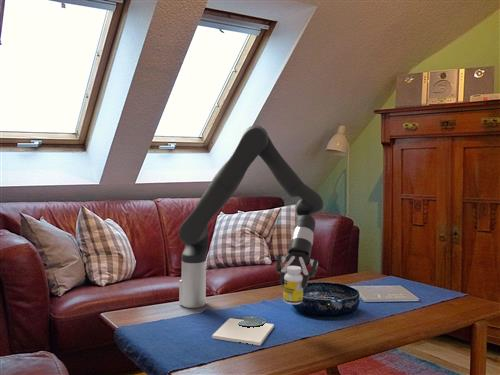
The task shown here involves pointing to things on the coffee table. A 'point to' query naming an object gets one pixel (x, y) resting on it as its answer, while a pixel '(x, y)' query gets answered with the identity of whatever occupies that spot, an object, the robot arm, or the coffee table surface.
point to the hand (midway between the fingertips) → (292, 285)
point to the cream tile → (242, 332)
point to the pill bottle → (293, 285)
